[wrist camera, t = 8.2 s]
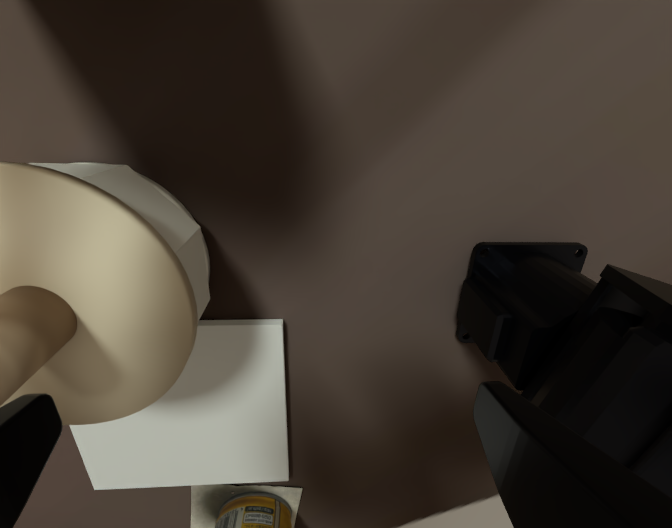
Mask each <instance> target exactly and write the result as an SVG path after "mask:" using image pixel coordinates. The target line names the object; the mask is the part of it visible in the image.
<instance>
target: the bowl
mask: <svg viewBox="0 0 672 528" xmlns="http://www.w3.org/2000/svg"><path fill="white" fill-rule="evenodd" d="M29 164H31V165H36V166H41V167H47V168H51V169H54V170H57V171H60V172H63V173H67V174H70V175H73V176H75V177H77V178H80V179H82V180H84V181H87V182H89V183H91V184H94V185H96V186H97V187H99V188H101V189H103V190H105V191H106V192H108V193H110V194H112V195H113V196H115V197H117V198H118V199H120V200H121V201H122V202H124V203H125V204H127V205H128V206H129V207H131V208H132V209H134V210H135V211H136V212H137V213H139V214H140V215H141V216H142V217H143V218H144V219H145V220H146V221H148V222H149V223H150V224H151V225H152V226H153V227H154V228H155V229H156V230H157V231H158V232H159V234H160V235H161V236H162V237H163V238H164V239H165V240H166V241H167V243H168V244H169V246H170V247H171V248H172V250H173V251H174V252H175V254H176V255H177V257H178V258H179V260H180V262H181V264H182V266H183V267H184V269H185V271H186V273H187V275H188V278H189V280H190V283H191V285H192V288H193V291H194V296H195V300H196V304H197V315H198V321H199V319H200V317H201V316H202V314H203V312H204V310H205V308H206V306H207V304H208V302H209V301H210V293H209V286H208V283H209V278H210V258H209V253H208V248H207V245H206V242H205V239H204V236H203V234H202V232H201V227H200V226H199V225H198V224H197V223H196V221H195V220H194V218H193V217H192V215H191V214H190V213H189V211H188V210H187V209H186V208H185V207H184V205H183V204H182V203H181V202H180V201H179V200H178V199H177V198H176V197H174V196H173V195H172V194H171V193H170V192H169V191H167V190H166V189H165V188H163V187H162V186H161V185H159V184H158V183H156V182H154V181H153V180H151V179H149V178H148V177H146V176H144V175H141V174H139V173H137V172H135V171H134V170H132V169H131V168H130V167H129V166H128V165H112V164H107V163H99V162H74V163H69V164H54V163H29Z"/></svg>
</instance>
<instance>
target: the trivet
mask: <svg viewBox="0 0 672 528" xmlns="http://www.w3.org/2000/svg"><path fill="white" fill-rule="evenodd" d="M70 428H71V430H72V433H73V436H74V438H75V441H76V443H77V446H78V448H79V451H80V454H81V456H82V459H83V461H84V464H85V467H86V469H87V472H88V474H89V477H90V479H91V482H92V485H93V487H94V490H103V489H124V488H146V487H167V486H189V485H211V484H232V483H254V482H276V481H289V461H288V436H287V410H286V384H285V359H284V333H283V319H254V320H199V321H198V325H197V336H196V340H195V344H194V348H193V350H192V352H191V355H190V357H189V359H188V361H187V363H186V365H185V367H184V369H183V371H182V373H181V375H180V376H179V378H178V379H177V381H176V382H175V384H174V385H173V386H172V387H171V388H170V389H169V390H168V391H167V392H166V393H165V394H164V395H163V396H162V397H161V398H159V399H158V400H157V401H156V402H154V403H153V404H151V405H149V406H148V407H146V408H144V409H143V410H141V411H139V412H136V413H134V414H131V415H129V416H127V417H123V418H120V419H116V420H113V421H108V422H103V423H97V424H86V425H70Z"/></svg>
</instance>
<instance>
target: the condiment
mask: <svg viewBox="0 0 672 528" xmlns="http://www.w3.org/2000/svg"><path fill="white" fill-rule="evenodd" d="M302 489H303V488H291V487H281V486H276V487H273V486H264V485H261V486H258V485H251V486H247V485H244V486H233V485H222V484H212V485H191V528H294V525H295V520H296V515H297V511H298V506H299V502H300V498H301V493H302ZM231 492H235V493H234V494H231ZM214 521H216V523H214Z"/></svg>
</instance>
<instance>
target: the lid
mask: <svg viewBox="0 0 672 528" xmlns="http://www.w3.org/2000/svg"><path fill="white" fill-rule="evenodd" d="M197 325H198V315H197V304H196V300H195V296H194V291H193V288H192V285H191V283H190V280H189V278H188V275H187V273H186V271H185V269H184V267H183V266H182V264H181V262H180V260H179V258H178V257H177V255H176V254H175V252H174V251H173V250H172V248H171V247H170V246H169V244H168V243H167V241H166V240H165V239H164V238H163V237H162V236H161V235H160V234H159V232H158V231H157V230H156V229H155V228H154V227H153V226H152V225H151V224H150V223H149V222H148V221H146V220H145V219H144V218H143V217H142V216H141V215H140V214H139V213H137V212H136V211H135V210H134V209H132V208H131V207H129V206H128V205H127V204H125V203H124V202H122V201H121V200H120V199H118V198H117V197H115V196H113V195H112V194H110V193H108V192H106V191H105V190H103V189H101V188H99V187H97V186H96V185H94V184H91V183H89V182H87V181H84V180H82V179H80V178H77V177H75V176H73V175H70V174H67V173H63V172H60V171H57V170H54V169H51V168H47V167H41V166H36V165H31V164H26V163H15V162H3V161H0V407H2V406H3V405H5V404H7V403H9V402H11V401H13V400H15V399H16V398H18V397H20V396H22V395H25V394H34V393H46V394H49V395H51V396H52V398H53V400H54V402H55V405H56V407H57V410H58V412H59V415H60V417H61V420H62V425H86V424H97V423H103V422H108V421H113V420H116V419H120V418H123V417H127V416H129V415H131V414H134V413H136V412H139V411H141V410H143V409H144V408H146V407H148V406H149V405H151V404H153V403H154V402H156V401H157V400H158V399H159V398H161V397H162V396H163V395H164V394H165V393H166V392H167V391H168V390H169V389H170V388H171V387H172V386H173V385H174V384H175V382H176V381H177V379H178V378H179V376H180V375H181V373H182V371H183V369H184V367H185V365H186V363H187V361H188V359H189V357H190V355H191V352H192V350H193V348H194V344H195V340H196V336H197Z"/></svg>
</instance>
